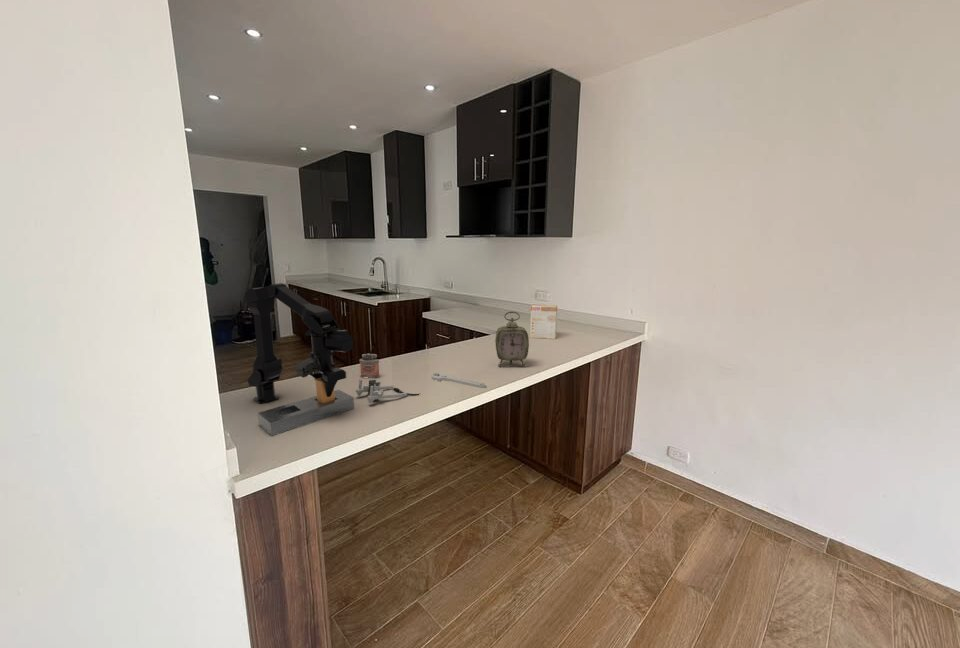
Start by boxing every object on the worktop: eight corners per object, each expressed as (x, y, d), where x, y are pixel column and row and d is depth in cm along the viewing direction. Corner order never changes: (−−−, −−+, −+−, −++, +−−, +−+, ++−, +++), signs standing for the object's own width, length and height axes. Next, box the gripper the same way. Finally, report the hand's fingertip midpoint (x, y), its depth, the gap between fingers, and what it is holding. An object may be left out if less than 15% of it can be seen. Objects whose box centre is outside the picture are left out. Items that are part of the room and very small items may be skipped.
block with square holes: (259, 425, 117) (257, 412, 116) (339, 400, 136) (338, 389, 135) (271, 435, 110) (270, 422, 109) (354, 408, 129) (353, 397, 128)
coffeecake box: (556, 336, 232) (557, 304, 229) (555, 339, 226) (556, 306, 222) (531, 335, 237) (532, 303, 233) (529, 337, 230) (530, 305, 226)
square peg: (317, 402, 127) (315, 379, 125) (329, 398, 129) (327, 376, 128) (323, 405, 124) (321, 382, 122) (334, 401, 127) (333, 378, 125)
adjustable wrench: (487, 387, 150) (487, 383, 149) (478, 392, 145) (478, 388, 144) (437, 375, 163) (437, 371, 163) (427, 379, 158) (427, 375, 158)
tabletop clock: (495, 368, 172) (496, 313, 167) (494, 362, 181) (495, 309, 176) (528, 368, 172) (529, 313, 167) (525, 362, 181) (526, 309, 176)
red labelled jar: (359, 378, 159) (357, 354, 157) (362, 375, 162) (361, 352, 160) (377, 378, 158) (376, 355, 156) (380, 376, 161) (379, 353, 159)
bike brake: (369, 407, 129) (420, 400, 142) (370, 387, 128) (422, 382, 141) (353, 395, 139) (402, 390, 152) (354, 377, 138) (403, 374, 151)
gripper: (284, 348, 123) (288, 394, 127) (309, 360, 111) (314, 410, 114) (317, 342, 132) (321, 385, 135) (345, 352, 119) (348, 399, 122)
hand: (325, 394), depth 126 cm, fingers closed on square peg, 4 cm apart
